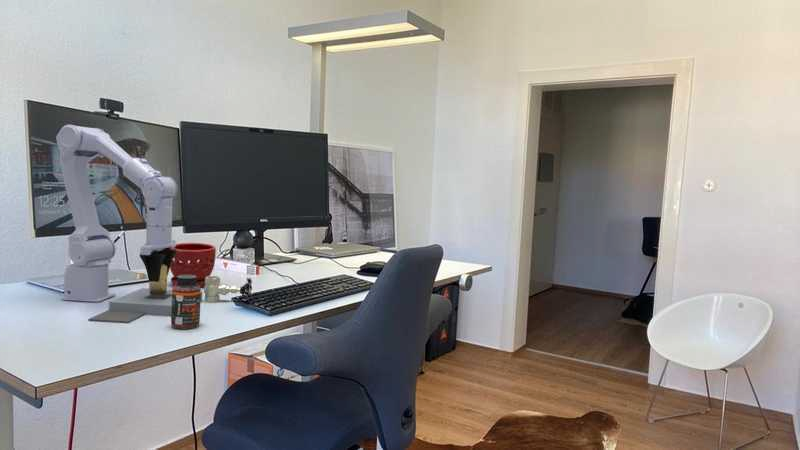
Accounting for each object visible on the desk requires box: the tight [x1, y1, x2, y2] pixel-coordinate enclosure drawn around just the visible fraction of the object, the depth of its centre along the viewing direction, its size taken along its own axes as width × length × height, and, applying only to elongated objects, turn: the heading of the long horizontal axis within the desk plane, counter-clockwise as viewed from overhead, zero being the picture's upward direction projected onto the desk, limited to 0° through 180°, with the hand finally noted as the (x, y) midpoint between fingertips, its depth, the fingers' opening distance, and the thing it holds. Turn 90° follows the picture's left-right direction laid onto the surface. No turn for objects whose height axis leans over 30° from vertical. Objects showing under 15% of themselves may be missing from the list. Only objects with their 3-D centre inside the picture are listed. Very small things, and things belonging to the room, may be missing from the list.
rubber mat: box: [87, 309, 145, 324], centre depth 122 cm, size 9×9×1 cm
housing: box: [108, 287, 203, 317], centre depth 133 cm, size 16×16×2 cm
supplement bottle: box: [170, 275, 202, 330], centre depth 118 cm, size 6×6×11 cm
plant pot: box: [169, 242, 217, 288], centre depth 158 cm, size 13×13×12 cm
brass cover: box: [148, 264, 168, 295], centre depth 132 cm, size 4×4×7 cm
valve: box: [203, 275, 253, 304], centre depth 142 cm, size 7×7×12 cm
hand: (158, 279), depth 132 cm, fingers closed on brass cover, 4 cm apart
